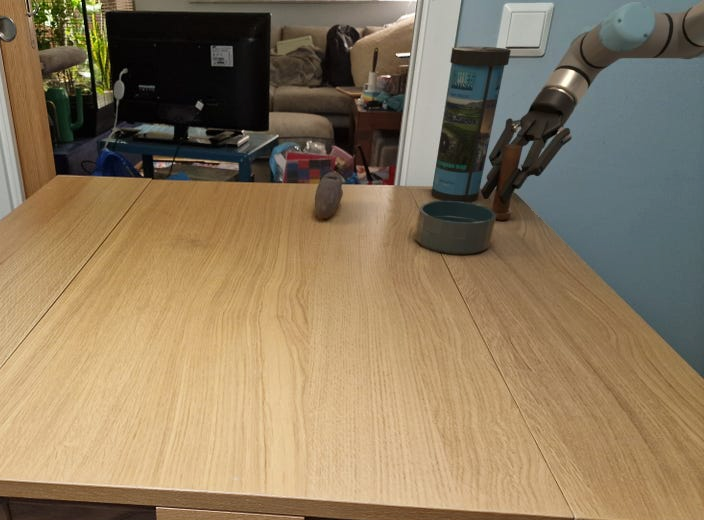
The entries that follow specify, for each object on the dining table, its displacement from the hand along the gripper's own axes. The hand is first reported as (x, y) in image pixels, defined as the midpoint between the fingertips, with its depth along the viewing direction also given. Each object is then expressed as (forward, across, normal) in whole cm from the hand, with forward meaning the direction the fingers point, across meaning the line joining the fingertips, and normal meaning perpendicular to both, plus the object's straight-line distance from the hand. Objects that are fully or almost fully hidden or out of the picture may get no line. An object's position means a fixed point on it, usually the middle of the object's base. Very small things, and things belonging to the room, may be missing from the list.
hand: (492, 197), depth 131 cm
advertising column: (-4, +15, -11) cm, 19 cm away
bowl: (+15, -3, +8) cm, 17 cm away
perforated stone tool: (+19, +24, +12) cm, 33 cm away
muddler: (+1, 0, -6) cm, 6 cm away
